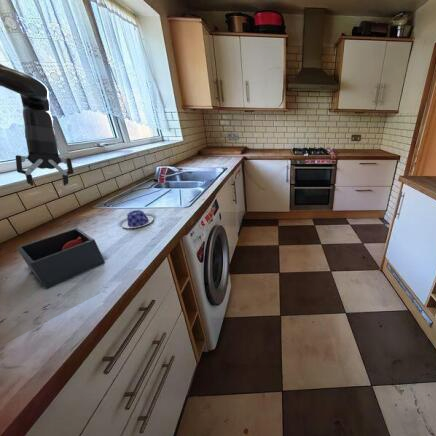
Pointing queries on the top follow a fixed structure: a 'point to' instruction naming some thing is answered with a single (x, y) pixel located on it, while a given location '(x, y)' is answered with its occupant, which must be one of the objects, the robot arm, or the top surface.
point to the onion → (73, 243)
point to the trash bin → (61, 257)
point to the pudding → (137, 219)
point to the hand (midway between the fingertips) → (49, 185)
